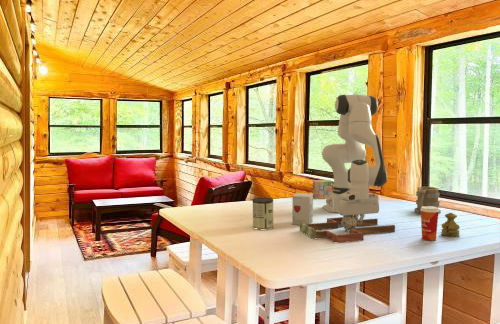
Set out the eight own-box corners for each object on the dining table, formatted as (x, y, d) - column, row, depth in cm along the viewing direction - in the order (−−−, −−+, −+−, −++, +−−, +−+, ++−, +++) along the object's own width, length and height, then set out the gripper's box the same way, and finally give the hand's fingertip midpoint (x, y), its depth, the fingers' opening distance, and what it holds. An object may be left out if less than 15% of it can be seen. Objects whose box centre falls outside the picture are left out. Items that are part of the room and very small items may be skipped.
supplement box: (291, 224, 213) (291, 195, 212) (296, 220, 222) (296, 192, 221) (309, 226, 210) (309, 196, 209) (313, 222, 219) (313, 193, 217)
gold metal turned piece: (458, 237, 186) (459, 215, 185) (440, 235, 190) (440, 213, 189) (460, 234, 193) (460, 212, 192) (442, 232, 196) (443, 210, 196)
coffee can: (256, 224, 214) (256, 197, 213) (275, 226, 211) (275, 198, 210) (249, 229, 205) (249, 200, 204) (270, 230, 201) (269, 201, 200)
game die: (352, 239, 199) (358, 226, 192) (335, 231, 201) (340, 219, 194) (357, 225, 205) (363, 212, 198) (340, 218, 207) (346, 205, 200)
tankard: (421, 209, 250) (421, 183, 249) (443, 212, 241) (443, 185, 240) (405, 214, 236) (406, 187, 235) (428, 217, 227) (429, 190, 226)
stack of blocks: (343, 197, 293) (343, 179, 292) (345, 198, 287) (345, 180, 286) (312, 197, 292) (312, 180, 291) (314, 199, 286) (314, 181, 285)
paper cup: (416, 237, 188) (417, 206, 187) (432, 236, 189) (433, 205, 187) (424, 241, 180) (425, 209, 179) (442, 241, 181) (443, 209, 180)
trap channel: (293, 227, 209) (293, 219, 208) (367, 220, 220) (367, 213, 220) (321, 244, 178) (321, 234, 178) (406, 235, 190) (406, 227, 190)
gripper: (374, 192, 205) (374, 220, 207) (336, 194, 199) (336, 223, 200) (382, 194, 199) (381, 223, 201) (343, 196, 193) (343, 226, 194)
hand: (359, 223), depth 200 cm, fingers closed
